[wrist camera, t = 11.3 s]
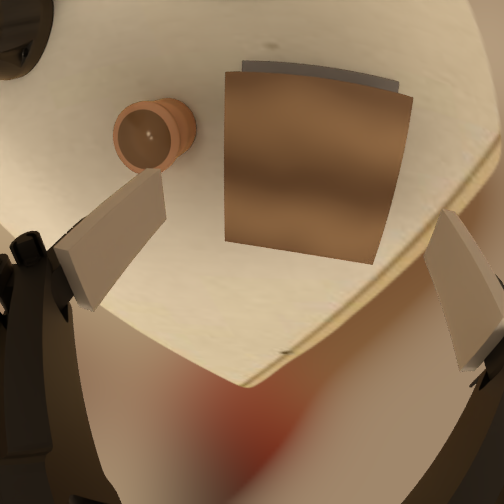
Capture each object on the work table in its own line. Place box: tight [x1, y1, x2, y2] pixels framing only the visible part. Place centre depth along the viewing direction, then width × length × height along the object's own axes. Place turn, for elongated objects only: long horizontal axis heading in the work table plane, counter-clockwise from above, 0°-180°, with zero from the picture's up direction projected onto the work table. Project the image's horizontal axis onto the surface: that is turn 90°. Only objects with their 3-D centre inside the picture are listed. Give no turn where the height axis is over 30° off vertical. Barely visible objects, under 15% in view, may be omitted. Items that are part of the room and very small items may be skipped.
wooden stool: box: [224, 72, 413, 265], centre depth 21 cm, size 12×11×10 cm
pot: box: [113, 98, 196, 174], centre depth 26 cm, size 7×7×5 cm
